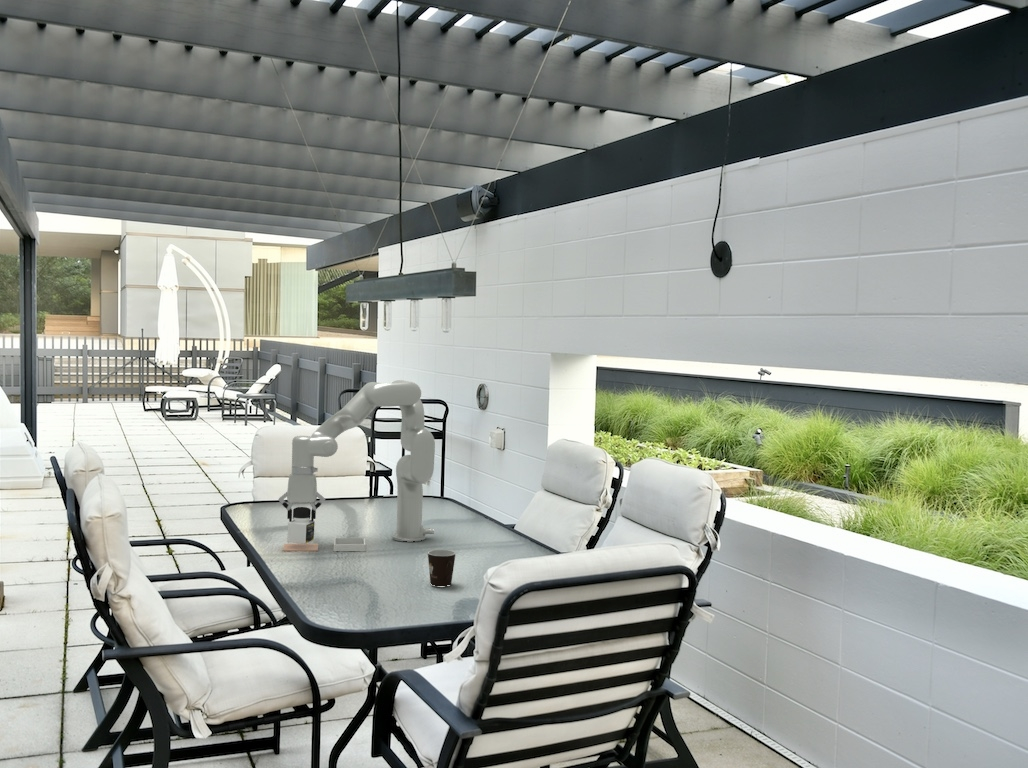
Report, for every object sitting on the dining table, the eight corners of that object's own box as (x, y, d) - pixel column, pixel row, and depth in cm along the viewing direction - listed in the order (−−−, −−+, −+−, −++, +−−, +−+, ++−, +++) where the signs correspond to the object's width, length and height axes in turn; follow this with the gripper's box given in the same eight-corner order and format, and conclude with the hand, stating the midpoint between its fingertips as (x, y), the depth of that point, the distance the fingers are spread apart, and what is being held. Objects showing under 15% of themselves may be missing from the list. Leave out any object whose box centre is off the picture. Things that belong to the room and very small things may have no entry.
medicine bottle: (306, 544, 328) (307, 510, 327) (286, 542, 329) (288, 508, 328) (314, 540, 335) (315, 506, 334) (295, 538, 336) (296, 505, 336)
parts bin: (364, 544, 341) (365, 537, 341) (365, 551, 330) (365, 544, 330) (334, 544, 339) (334, 537, 339) (333, 551, 329) (333, 544, 328)
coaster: (318, 545, 338) (318, 543, 338) (317, 551, 328) (317, 549, 328) (284, 545, 336) (284, 543, 336) (282, 551, 326) (282, 550, 326)
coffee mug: (427, 580, 294) (428, 549, 293) (454, 581, 295) (455, 549, 294) (426, 591, 282) (427, 558, 282) (454, 591, 283) (455, 558, 282)
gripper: (327, 469, 336) (326, 518, 337) (278, 469, 333) (277, 518, 334) (327, 472, 328) (326, 523, 329) (276, 472, 326) (275, 523, 326)
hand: (301, 520), depth 332 cm, fingers closed on medicine bottle, 7 cm apart
